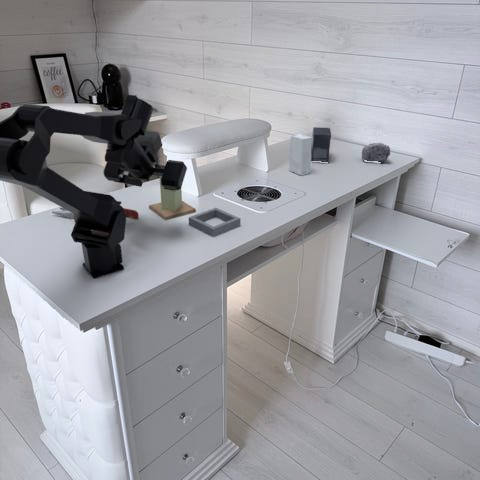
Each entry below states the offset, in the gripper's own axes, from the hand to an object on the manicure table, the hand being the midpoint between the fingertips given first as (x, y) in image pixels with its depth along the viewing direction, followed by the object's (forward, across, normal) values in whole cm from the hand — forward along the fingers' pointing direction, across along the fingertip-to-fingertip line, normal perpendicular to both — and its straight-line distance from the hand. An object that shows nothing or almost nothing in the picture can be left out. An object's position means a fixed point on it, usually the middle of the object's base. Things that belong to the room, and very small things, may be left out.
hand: (158, 187), depth 106 cm
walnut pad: (+11, 0, +1) cm, 11 cm away
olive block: (+10, 0, +1) cm, 10 cm away
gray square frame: (+8, -14, +5) cm, 16 cm away
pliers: (+4, +15, +10) cm, 18 cm away
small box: (+54, -30, -42) cm, 74 cm away
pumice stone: (+58, -49, -46) cm, 89 cm away
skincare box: (+41, -26, -29) cm, 57 cm away
